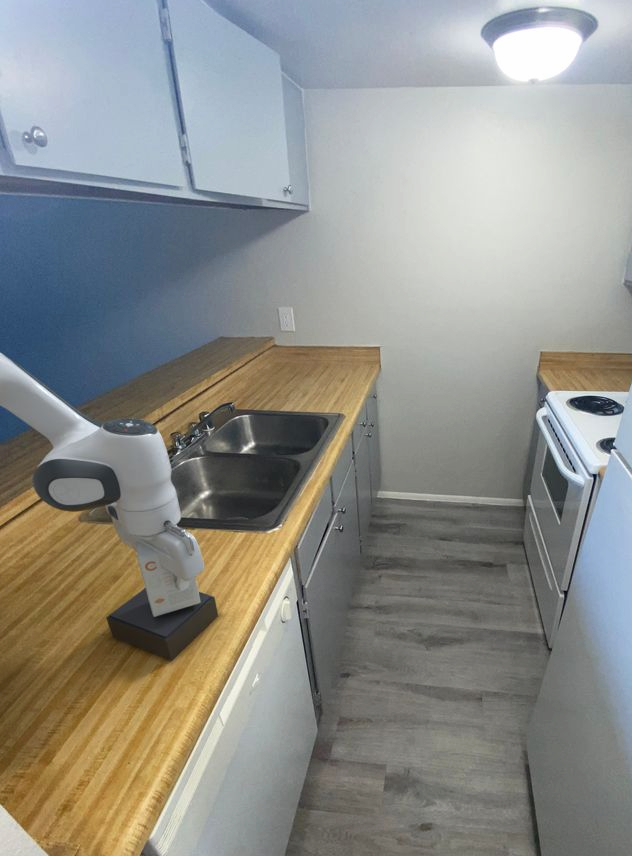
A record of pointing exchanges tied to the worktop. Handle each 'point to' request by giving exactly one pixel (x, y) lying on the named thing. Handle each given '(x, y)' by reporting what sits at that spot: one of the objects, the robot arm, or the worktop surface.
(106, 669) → the worktop surface
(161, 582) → the small box
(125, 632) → the dark gray box
